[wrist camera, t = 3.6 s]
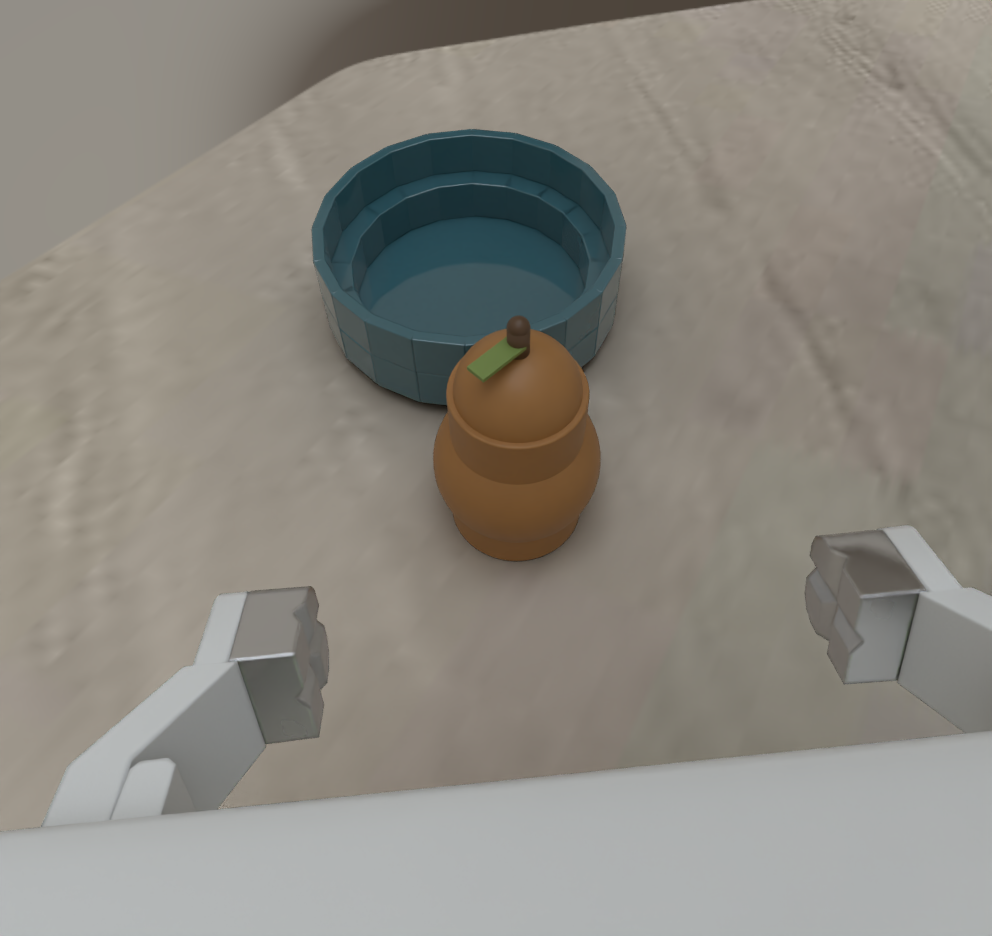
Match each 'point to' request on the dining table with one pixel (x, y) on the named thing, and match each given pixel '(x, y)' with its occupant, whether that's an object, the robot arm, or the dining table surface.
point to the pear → (517, 444)
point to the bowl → (465, 253)
